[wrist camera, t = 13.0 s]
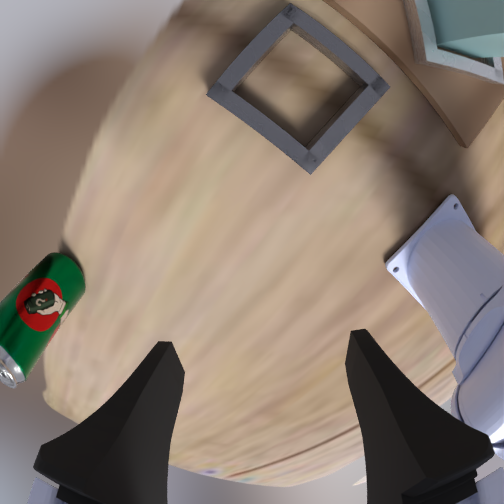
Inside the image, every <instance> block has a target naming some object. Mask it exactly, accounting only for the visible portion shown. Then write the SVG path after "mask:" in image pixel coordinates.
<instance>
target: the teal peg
mask: <svg viewBox="0 0 504 504" xmlns="http://www.w3.org/2000/svg"><path fill="white" fill-rule="evenodd" d="M427 2H428V6H429V10H430V14H431V18H432V23H433V28H434V32H435V38H436V43H437V47H441V48H444V49H448V50H451V51H454V52H457V53H461V54H464V55H467V56H469V57H472V58H486V57H504V0H427Z"/></svg>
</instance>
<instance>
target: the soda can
mask: <svg viewBox="0 0 504 504" xmlns="http://www.w3.org/2000/svg"><path fill="white" fill-rule="evenodd" d="M84 293H85V280H84V276H83V273H82V271H81V269H80V268H79V266H78V265H77V264H76V262H75V261H74V260H72V259H71V258H70V257H68V256H66V255H64V254H61V253H50V254H48V255H47V256H46V257H45V258H44V259H43V260H42V261H41V262H40V263H38V264H37V265H36V266H35V267H34V268H33V269H32V270H31V271H30V272H29V273H28V274H27V275H26V276H25V277H24V278H23V279H22V280H21V281H20V282H19V283H18V284H17V285H16V286H15V287H14V288H13V289H12V290H11V291H10V292H9V293H8V295H7V296H6V297H5V298H4V299H3V300H2V301H1V302H0V381H1V382H2V383H4V384H5V385H7V386H9V387H11V388H16V387H17V384H18V383H21V382H24V381H26V379H27V378H28V376H29V374H30V373H31V371H32V369H33V368H34V366H35V364H36V363H37V361H38V360H39V358H40V356H41V355H42V353H43V352H44V350H45V349H46V347H47V346H48V344H49V343H50V341H51V340H52V338H53V337H54V335H55V334H56V332H57V331H58V329H59V328H60V326H61V325H62V324H63V322H64V321H65V319H66V318H67V317H68V315H69V314H70V312H71V311H72V310H73V308H74V307H75V306H76V304H77V303H78V302H79V300H80V299H81V298H82V296H83V295H84Z"/></svg>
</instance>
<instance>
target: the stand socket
mask: <svg viewBox="0 0 504 504" xmlns="http://www.w3.org/2000/svg"><path fill="white" fill-rule="evenodd" d="M290 30H292V31H294V32H295V33H296V34H298V35H299V36H301V37H302V38H303V39H305V40H306V41H307V42H309V43H310V44H311V45H313V46H314V47H315V48H316V49H318V50H319V51H320V52H322V53H323V54H324V55H325V56H326V57H328V58H329V59H330V60H331V61H332V62H334V63H335V64H336V65H337V66H338V67H339V68H341V69H342V70H343V71H344V72H345V73H346V74H347V75H348V76H350V77H351V78H352V79H353V80H354V81H355V82H356V83H357V84H358V85H359V86H360V88H359V89H358V90H357V91H356V92H355V93H354V94H353V95H352V96H351V97H350V99H349V100H348V101H347V102H346V103H345V104H344V105H343V106H342V107H341V108H340V109H339V111H338V112H337V113H336V114H335V115H334V116H333V117H332V118H331V119H330V120H329V121H328V123H327V124H326V125H325V126H324V127H323V128H322V129H321V130H320V131H319V133H318V134H317V135H316V136H315V137H314V138H313V139H312V140H311V142H310V143H309V144H308V145H307V146H306V147H304V146H303V145H301V144H300V143H299V142H298V141H297V140H295V139H294V138H293V137H292V136H291V135H289V134H288V133H287V132H286V131H284V130H283V129H282V128H281V127H279V126H278V125H277V124H276V123H274V122H273V121H272V120H270V119H269V118H268V117H267V116H265V115H264V114H263V113H261V112H260V111H259V110H257V109H256V108H255V107H253V106H252V105H251V104H249V103H248V102H246V101H245V100H244V99H242V98H241V97H239V96H238V95H237V94H235V93H234V92H235V91H236V89H237V88H238V87H239V86H240V85H241V83H242V82H243V81H244V80H245V79H246V78H247V76H248V75H249V74H250V73H251V72H252V71H253V70H254V68H255V67H256V66H257V65H258V64H259V63H260V62H261V61H262V60H263V58H264V57H265V56H266V55H267V54H268V53H269V52H270V51H271V50H272V49H273V48H274V47H275V46H276V45H277V44H278V43H279V42H280V41H281V39H282V38H283V37H284V36H285V35H286V34H287V33H288V32H289V31H290ZM389 88H390V86H389V85H388V84H387V83H386V82H385V81H384V80H383V79H382V78H381V77H380V76H379V74H378V73H376V72H375V71H374V70H373V69H372V68H371V67H370V66H369V65H368V64H367V63H366V62H365V61H364V60H363V59H362V58H361V57H360V56H359V55H357V54H356V53H355V52H354V51H353V50H352V49H351V48H350V47H348V46H347V45H346V44H345V43H344V42H343V41H341V40H340V39H339V38H338V37H336V36H335V35H334V34H333V33H331V32H330V31H329V30H328V29H326V28H325V27H324V26H322V25H321V24H320V23H318V22H317V21H316V20H314V19H313V18H312V17H310V16H309V15H307V14H306V13H305V12H303V11H302V10H300V9H299V8H297V7H296V6H294V5H293V4H291V3H290V4H289V5H288V6H286V7H285V8H284V9H283V10H282V11H281V12H280V13H279V14H278V15H277V16H276V17H275V18H274V19H273V20H272V21H271V22H270V23H269V24H268V25H267V26H266V27H265V28H264V29H263V30H262V31H261V32H260V33H259V34H258V35H257V36H256V37H255V38H254V39H253V40H252V41H251V42H250V43H249V44H248V46H247V47H246V48H245V49H244V50H243V51H242V52H241V53H240V54H239V55H238V57H237V58H236V59H235V60H234V61H233V62H232V63H231V65H230V66H229V67H228V68H227V69H226V71H225V72H224V73H223V74H222V75H221V77H220V78H219V79H218V80H217V81H216V83H215V84H214V85H213V86H212V88H211V89H210V90H209V91H208V93H207V94H206V95H207V96H208V97H210V98H211V99H213V100H214V101H216V102H217V103H218V104H220V105H221V106H223V107H224V108H226V109H227V110H228V111H230V112H231V113H233V114H234V115H235V116H237V117H238V118H240V119H241V120H242V121H244V122H245V123H246V124H248V125H249V126H250V127H252V128H253V129H254V130H256V131H257V132H258V133H260V134H261V135H262V136H264V137H265V138H266V139H267V140H269V141H270V142H271V143H273V144H274V145H275V146H276V147H278V148H279V149H280V150H281V151H283V152H284V153H285V154H286V155H288V156H289V157H290V158H291V159H292V160H294V161H295V162H296V163H297V164H298V165H300V166H301V167H302V168H303V169H304V170H306V171H307V172H308V173H309V174H310V175H311V174H312V173H313V172H314V170H315V169H316V168H317V167H318V166H319V165H320V164H321V163H322V162H323V161H324V159H325V158H326V157H327V156H328V155H329V154H330V153H331V152H332V151H333V149H334V148H335V147H336V146H337V145H338V144H339V143H340V142H341V141H342V140H343V138H344V137H345V136H346V135H347V134H348V133H349V132H350V131H351V130H352V129H353V127H354V126H355V125H356V124H357V123H358V122H359V121H360V120H361V119H362V118H363V116H364V115H365V114H366V113H367V112H368V111H369V110H370V109H371V108H372V107H373V106H374V104H375V103H376V102H377V101H378V100H379V99H380V98H381V97H382V96H383V95H384V93H385V92H386V91H387V90H388V89H389Z"/></svg>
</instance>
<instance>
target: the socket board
mask: <svg viewBox="0 0 504 504" xmlns="http://www.w3.org/2000/svg"><path fill="white" fill-rule="evenodd" d="M323 1H324V2H326V3H327V4H329V5H330V6H331V7H333V8H334V9H335V10H337V11H338V12H339V13H341V14H342V15H343V16H344V17H346V18H347V19H348V20H349V21H351V22H352V23H353V24H354V25H355V26H357V27H358V28H359V29H360V30H361V31H362V32H363V33H365V34H366V35H367V36H368V37H369V38H370V39H371V40H372V41H373V42H375V43H376V44H377V45H378V46H379V47H380V48H381V49H382V50H383V51H384V52H385V53H386V54H387V55H388V56H389V57H390V58H391V59H392V60H393V61H394V62H395V63H396V64H397V65H398V66H399V67H400V69H401V70H402V71H403V72H404V73H405V74H406V75H407V76H408V77H409V78H410V80H411V81H412V82H413V83H414V84H415V85H416V87H417V88H418V89H419V90H420V91H421V93H422V94H423V95H424V96H425V97H426V99H427V100H428V101H429V103H430V104H431V105H432V106H433V108H434V109H435V110H436V112H437V113H438V114H439V116H440V117H441V119H442V120H443V121H444V123H445V124H446V126H447V127H448V129H449V130H450V131H451V133H452V134H453V136H454V137H455V139H456V141H457V142H458V144H459V145H460V146H462V147H465V148H468V147H469V146H470V144H471V143H472V142H473V141H474V139H475V138H476V137H477V135H478V134H479V133H480V131H481V130H482V129H483V127H484V126H485V124H486V123H487V122H488V120H489V119H490V118H491V116H492V115H493V113H494V112H495V110H496V109H497V107H498V106H499V105H500V103H501V102H502V100H503V99H504V57H486V58H472V57H469V56H467V55H464V54H461V53H457V52H454V51H451V50H448V49H444V48H441V47H437V43H436V38H435V32H434V28H433V23H432V18H431V14H430V10H429V6H428V2H427V0H323Z"/></svg>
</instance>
